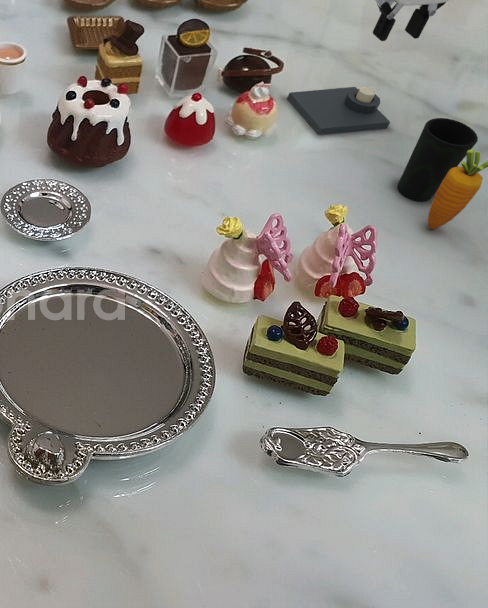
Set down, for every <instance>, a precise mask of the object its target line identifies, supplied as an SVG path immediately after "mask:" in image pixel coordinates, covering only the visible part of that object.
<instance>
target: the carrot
mask: <svg viewBox="0 0 488 608" xmlns="http://www.w3.org/2000/svg"><path fill="white" fill-rule="evenodd" d="M465 158H466V161H461V163H460V165H461V166H457V167H454V168H451V169H450V170H449V171H448V173H447V174H446V176H445V178H444V179H443V181H442V183H441V185H440V186H439V188H438V190H437V192H436V193H435V195H434V196H433V198H432V199H433V200H432V202H431V205H430V208H429V210H428V216H427V227H428V228H429V230H436V229H439V228H441V227H442V226H444V225H446V224H448V223H449V222H451V221H452V220H453V219H455V217H457V216H459V214H460V213H461V212H462V211H463V210H464V209H465V208H466V207H467V205H468V204H469V203H470V202H471V201H472V199H473V198H474V197H475V196H476V194H477V193H478V191H480V189H481V186H482V182H483V180H484V179H483V175H482V174H480V172H481V171H483V170H484V169H487V168H488V160H487V161H484V162H483V163H482V164H481V165H479V164H480V162H481V152H480V151H477V150H476V151H475V149H473V148H472V149H471V150H468V151H467V155H466V156H465Z"/></svg>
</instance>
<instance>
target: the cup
mask: <svg viewBox="0 0 488 608" xmlns="http://www.w3.org/2000/svg"><path fill="white" fill-rule="evenodd" d="M478 141H479V137H478V134H477V133H476V131H475V130H474V129H472V128H471V126H469V125H467V124H465V123H463V122H461V121H458V120H456V119H452V118H446V117H436V118H431V119H429V120H427V121H426V122H425V124H424V127H423V128H422V131H421V133H420V135H419V137H418V140H417V141H416V144H415V146H414V148H413V150H412V153H411V155H410V157H409V158H408V161H407V163H406V166H405V168H404V170H403V172H402V174H401V177H400V178H399V181H398V182H397V185H396V187H397V191H398V193H400V194H401V195H402V196H403V197H405V198H406V199H408V200H411V201H414V202H419V203H425V202H429V201H431V200H432V199H433V198H434V197H435V194H436V192H437V190H438V188H439V186H440V185H441V183H442V181H443V179H444V178H445V176H446V174H447V173H448V171H449V170H450V169H451V168H454V167H459V165H461V162H463V160H464V159H465V158H466V156H467V151H468V150H471V149H472V150H473V148H474V147H475V146H476V144H477V143H478Z"/></svg>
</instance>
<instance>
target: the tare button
mask: <svg viewBox="0 0 488 608" xmlns="http://www.w3.org/2000/svg"><path fill="white" fill-rule="evenodd" d="M358 89H359V91H358V93H357V95H356V99H357V100H359V101H361V102H365V103H370V102H371V101H372V99H373V97H374V95H375V94H376V90H375V89H374V88H371V87H369V86H361V87H360V88H358Z"/></svg>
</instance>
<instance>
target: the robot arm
mask: <svg viewBox="0 0 488 608" xmlns="http://www.w3.org/2000/svg"><path fill="white" fill-rule="evenodd" d="M374 1H375V3H376V4H377V7H378V9H379V11H378V12H380V15H379V17H378V19H377V21H376V23H375V26H374V28H373V30H372V34H373V36H374V37H376V39H378V40H379V41H380V42H386V41H387V40H388V37H389V35H390V34H391V32H392V29H393V27H394V25H395V23H396V19H395V17H396V16H397V14H399V12H400V11H401V9H402V8H404V7H406V6H419V7H418V8H415V9H414V10H413V12H412V14H411V16H410V18H409V20H408V22H407V24H406V26H405V27H404V31H405V32H406V33H407V34H408V35H409V36H410V37H412V38H413V39H419V38H420V36H421V35H422V33H423V31H424V29H425V27H426V25H427V23H428V21H429V19H430V17H431V18H432V17H434V16H435V14H436V13H437V10H438V9H440V8H442V7H443V6H445V4H446V3H447V2H448V1H449V0H374ZM393 4H394V5H393ZM392 5H393V7H392Z"/></svg>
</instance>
